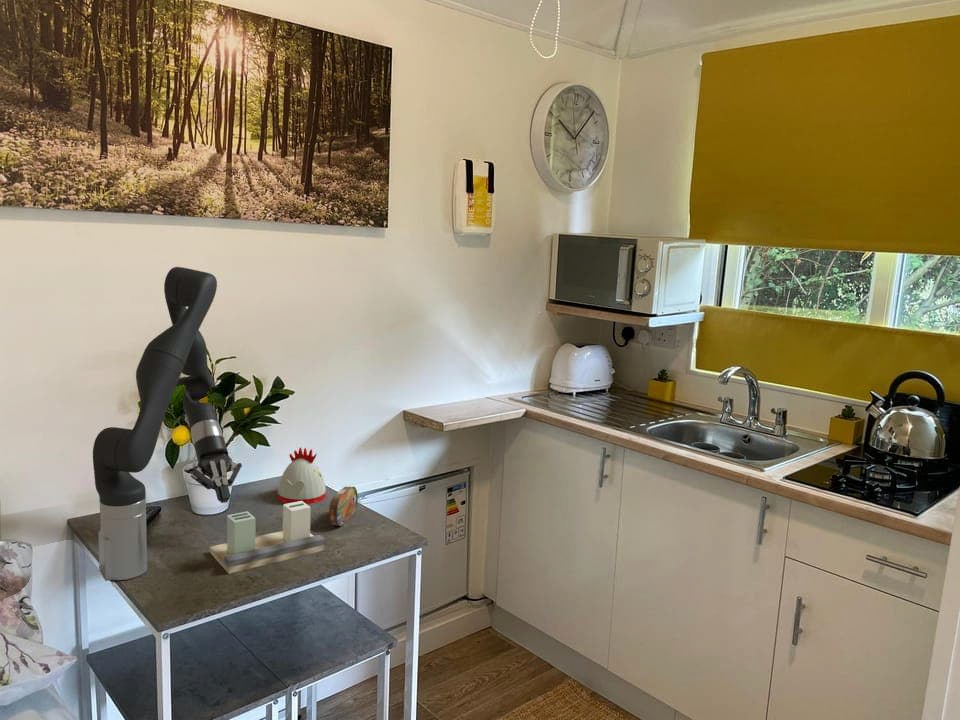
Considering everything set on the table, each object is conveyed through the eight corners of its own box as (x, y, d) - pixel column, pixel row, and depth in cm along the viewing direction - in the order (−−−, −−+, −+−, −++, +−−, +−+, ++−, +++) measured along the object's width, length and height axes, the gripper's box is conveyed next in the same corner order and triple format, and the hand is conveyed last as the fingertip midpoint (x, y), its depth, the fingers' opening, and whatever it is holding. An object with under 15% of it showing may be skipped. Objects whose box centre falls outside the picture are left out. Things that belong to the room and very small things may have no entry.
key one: (291, 545, 179) (291, 510, 177) (282, 538, 182) (283, 503, 181) (309, 541, 182) (310, 506, 180) (301, 534, 186) (301, 500, 184)
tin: (337, 531, 193) (338, 501, 192) (326, 529, 194) (327, 499, 192) (358, 510, 208) (359, 482, 206) (347, 509, 208) (348, 481, 207)
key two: (234, 558, 170) (234, 521, 168) (227, 550, 174) (227, 514, 172) (255, 553, 173) (255, 517, 171) (247, 546, 177) (247, 510, 175)
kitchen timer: (315, 507, 208) (316, 457, 206) (269, 501, 210) (270, 452, 208) (332, 490, 222) (333, 443, 219) (289, 486, 224) (290, 439, 221)
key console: (228, 573, 166) (228, 561, 166) (209, 552, 176) (209, 540, 176) (324, 550, 181) (325, 538, 181) (302, 531, 191) (302, 521, 190)
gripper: (185, 437, 182) (201, 499, 174) (237, 431, 190) (255, 490, 182) (179, 452, 187) (194, 512, 179) (230, 445, 195) (247, 503, 187)
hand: (225, 501), depth 181 cm, fingers closed
